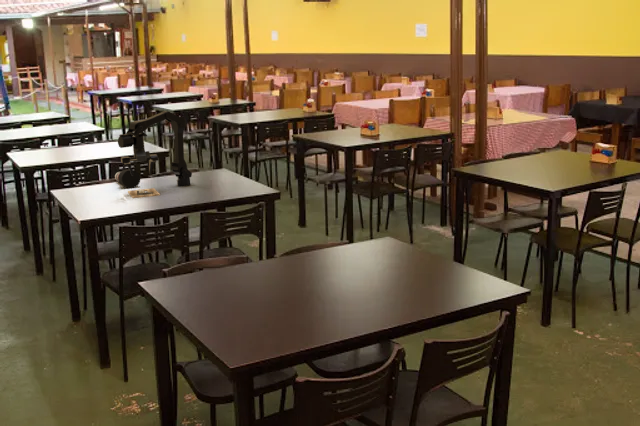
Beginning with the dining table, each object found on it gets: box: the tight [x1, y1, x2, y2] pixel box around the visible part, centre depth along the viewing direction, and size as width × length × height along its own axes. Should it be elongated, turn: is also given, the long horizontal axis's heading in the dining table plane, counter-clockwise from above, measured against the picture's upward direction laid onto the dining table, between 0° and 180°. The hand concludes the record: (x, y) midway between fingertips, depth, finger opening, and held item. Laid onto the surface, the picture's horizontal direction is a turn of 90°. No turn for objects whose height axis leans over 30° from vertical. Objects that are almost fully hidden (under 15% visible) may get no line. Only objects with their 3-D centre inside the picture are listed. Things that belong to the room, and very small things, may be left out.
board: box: [127, 187, 161, 199], centre depth 367 cm, size 14×18×4 cm
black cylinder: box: [114, 169, 141, 189], centre depth 400 cm, size 10×34×10 cm, turn 26°
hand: (141, 174), depth 366 cm, fingers open, 9 cm apart
